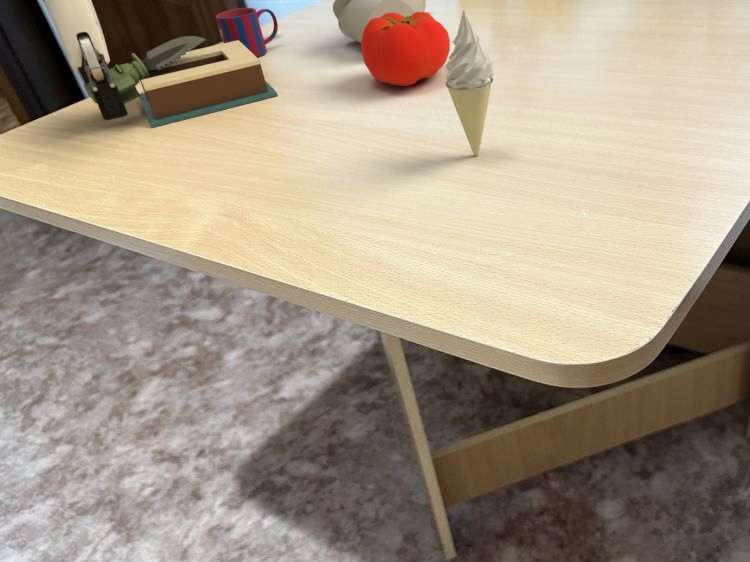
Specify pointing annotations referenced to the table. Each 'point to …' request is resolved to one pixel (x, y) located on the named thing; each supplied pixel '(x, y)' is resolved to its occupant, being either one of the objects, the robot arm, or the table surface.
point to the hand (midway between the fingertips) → (113, 110)
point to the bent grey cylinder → (370, 13)
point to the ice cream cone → (470, 82)
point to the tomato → (404, 47)
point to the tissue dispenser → (204, 84)
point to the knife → (147, 66)
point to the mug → (245, 28)
